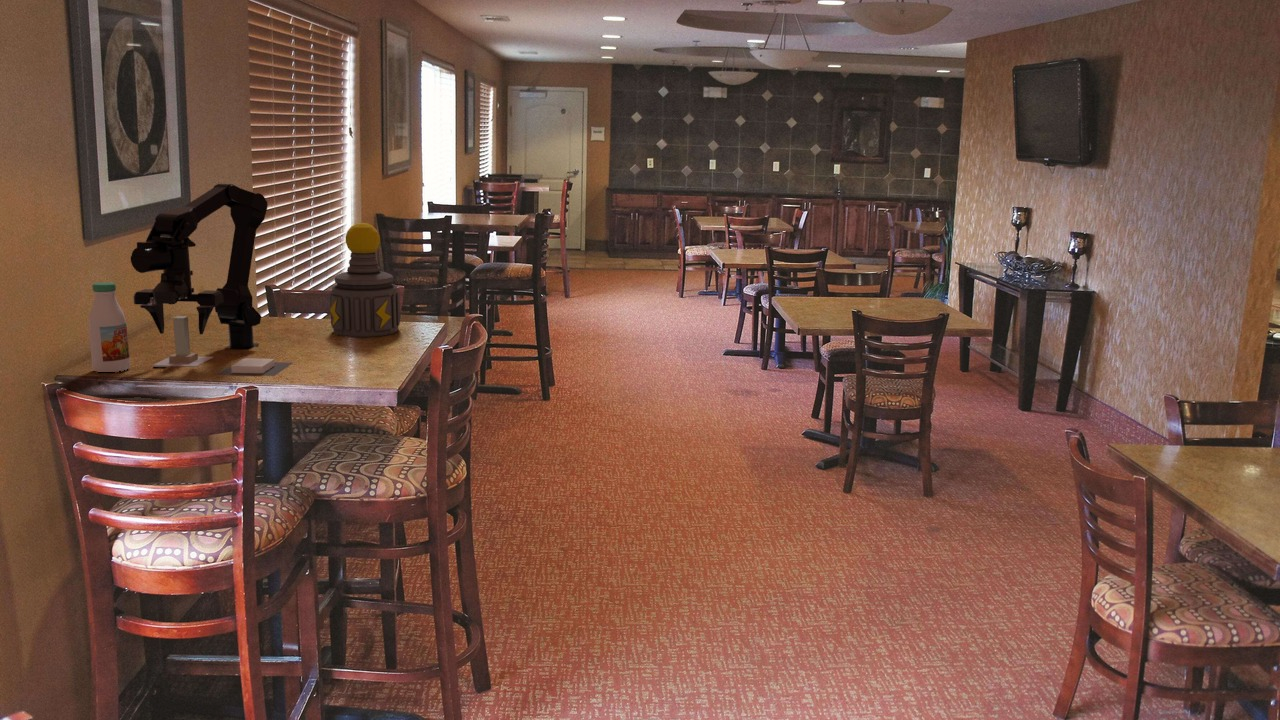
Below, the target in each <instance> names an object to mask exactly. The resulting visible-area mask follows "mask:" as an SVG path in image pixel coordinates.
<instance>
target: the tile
mask: <svg viewBox="0 0 1280 720" xmlns="http://www.w3.org/2000/svg"><path fill="white" fill-rule="evenodd" d="M275 362H276V361H275V358H258V357H257V358H254V357H253V358H252V357H251V358H246V357H245V358H242V359H240V360H239V362H238V361H237V362H235V363H234V365H233V364H231V365H230V366H231V370H232V373H244V374H263V373H264V372H266V371H267V370H269V369H270V368H272V367H274V366H275Z"/></svg>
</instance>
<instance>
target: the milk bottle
mask: <svg viewBox="0 0 1280 720" xmlns="http://www.w3.org/2000/svg"><path fill="white" fill-rule="evenodd" d="M116 290H117V289H116V283H115V282H110V281H109V282H108V281H105V282H104V281H103V282H102V281H101V282H95V283H93V284H92V292H93V295H94V300H93V304H92V307H91V308H90V312H89V315H88V335H89V346H90V347H89V348H90V354H91V355H90V356H91V366H92V367H91V368H92V370H93V372H94V371H98V372H115V373H120V372H119V371H121V372H125V371H128V370H130V368H131V359H130V346H129V335H128V327H127V319H126V316H125V313H124V311H123V308H122V306H120V304H119V302H118V300H117V297H116V293H117V291H116ZM127 369H128V370H127ZM124 370H125V371H124ZM98 372H97V373H98Z"/></svg>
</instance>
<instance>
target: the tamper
mask: <svg viewBox="0 0 1280 720" xmlns="http://www.w3.org/2000/svg"><path fill="white" fill-rule="evenodd" d="M172 322H173V333H174V335H173V336H174V347H175V353H172V354H170V355H169V356H168V357H169V363H192V362H194V361H196V360H198V356H199V354H198V353H197V352H191V351H192V350H191V339H190V328H189V327H190V326H189V316H187V315H186V316H184V315H177V316H174V317H172Z"/></svg>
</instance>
